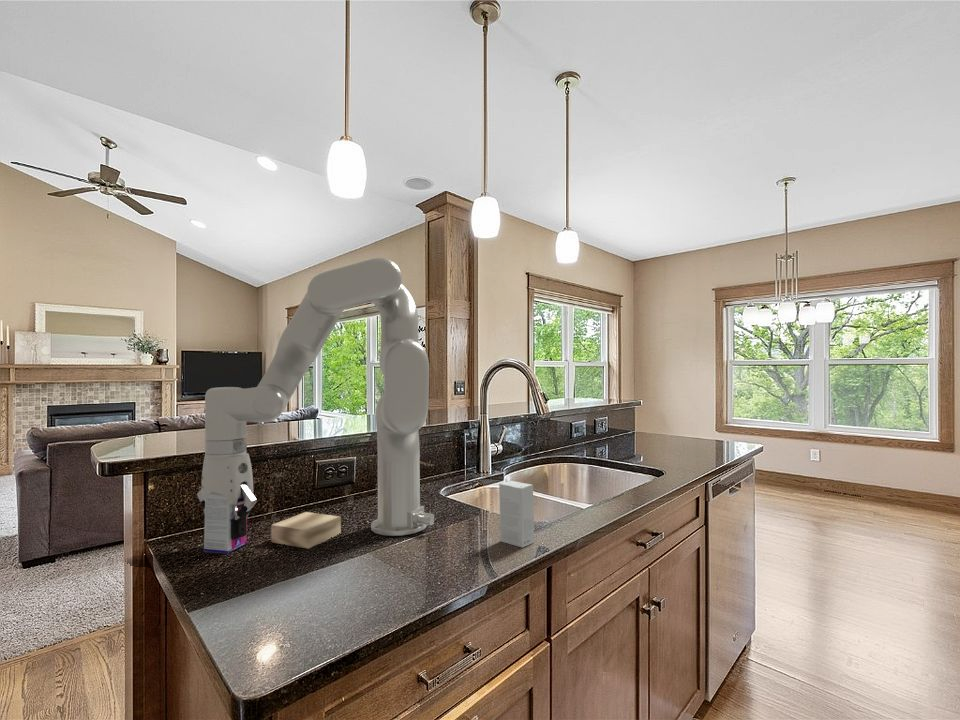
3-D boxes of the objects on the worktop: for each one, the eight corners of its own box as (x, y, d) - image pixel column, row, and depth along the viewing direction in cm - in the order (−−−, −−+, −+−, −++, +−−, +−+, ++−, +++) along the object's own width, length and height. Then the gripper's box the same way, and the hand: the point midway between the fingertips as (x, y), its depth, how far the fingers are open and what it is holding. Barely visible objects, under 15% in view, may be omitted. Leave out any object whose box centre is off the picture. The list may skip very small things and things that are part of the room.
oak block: (340, 534, 108) (340, 516, 108) (308, 550, 99) (308, 530, 99) (305, 529, 112) (305, 511, 112) (271, 543, 103) (271, 524, 103)
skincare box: (534, 542, 101) (534, 484, 101) (522, 548, 98) (521, 488, 98) (512, 536, 105) (511, 480, 105) (499, 541, 102) (498, 483, 102)
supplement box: (228, 554, 97) (228, 495, 97) (202, 552, 98) (202, 494, 98) (248, 543, 102) (248, 488, 102) (223, 541, 103) (223, 487, 104)
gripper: (272, 447, 100) (272, 534, 100) (212, 442, 107) (213, 525, 107) (241, 452, 93) (241, 547, 93) (180, 448, 100) (180, 535, 100)
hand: (226, 534), depth 100 cm, fingers closed on supplement box, 6 cm apart
